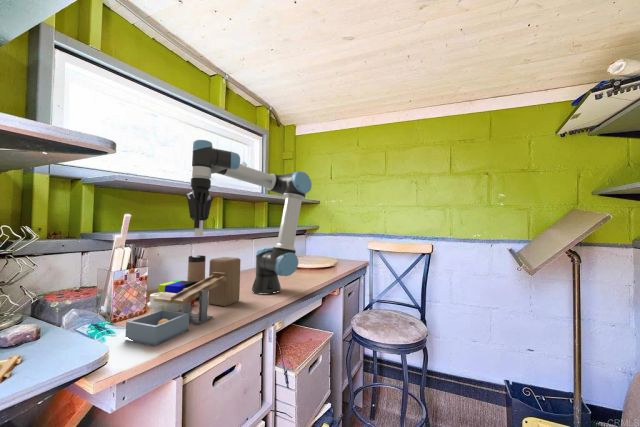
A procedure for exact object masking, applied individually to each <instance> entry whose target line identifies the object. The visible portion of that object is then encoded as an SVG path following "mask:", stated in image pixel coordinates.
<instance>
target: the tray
mask: <svg viewBox="0 0 640 427" xmlns="http://www.w3.org/2000/svg"><path fill="white" fill-rule="evenodd" d="M162 319H167V320H169V321H166V322H164V323H161V324H158V322H159V321H160V320H162ZM125 322H126V323H125V337H128V338H129V339H131V340H133V341H134V342H133V343H135V344H141V345H146V346H149V347H156V346H159V345H160V344H162V343H165V342H166V341H167V342H168V340H170V339H173V338H176V337H177V336H180V335H182V334H184V333H187V332H188V331H189V330H190V328H189V327H190V326H189V325H190V323H189V314H188V313H182V311H171V310H160V311H157V312H154V313H152V312H151V313H149V314H145V315H141V316H140V317H136V318H133V319H130V320H127V321H125ZM157 324H158V325H157Z"/></svg>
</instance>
